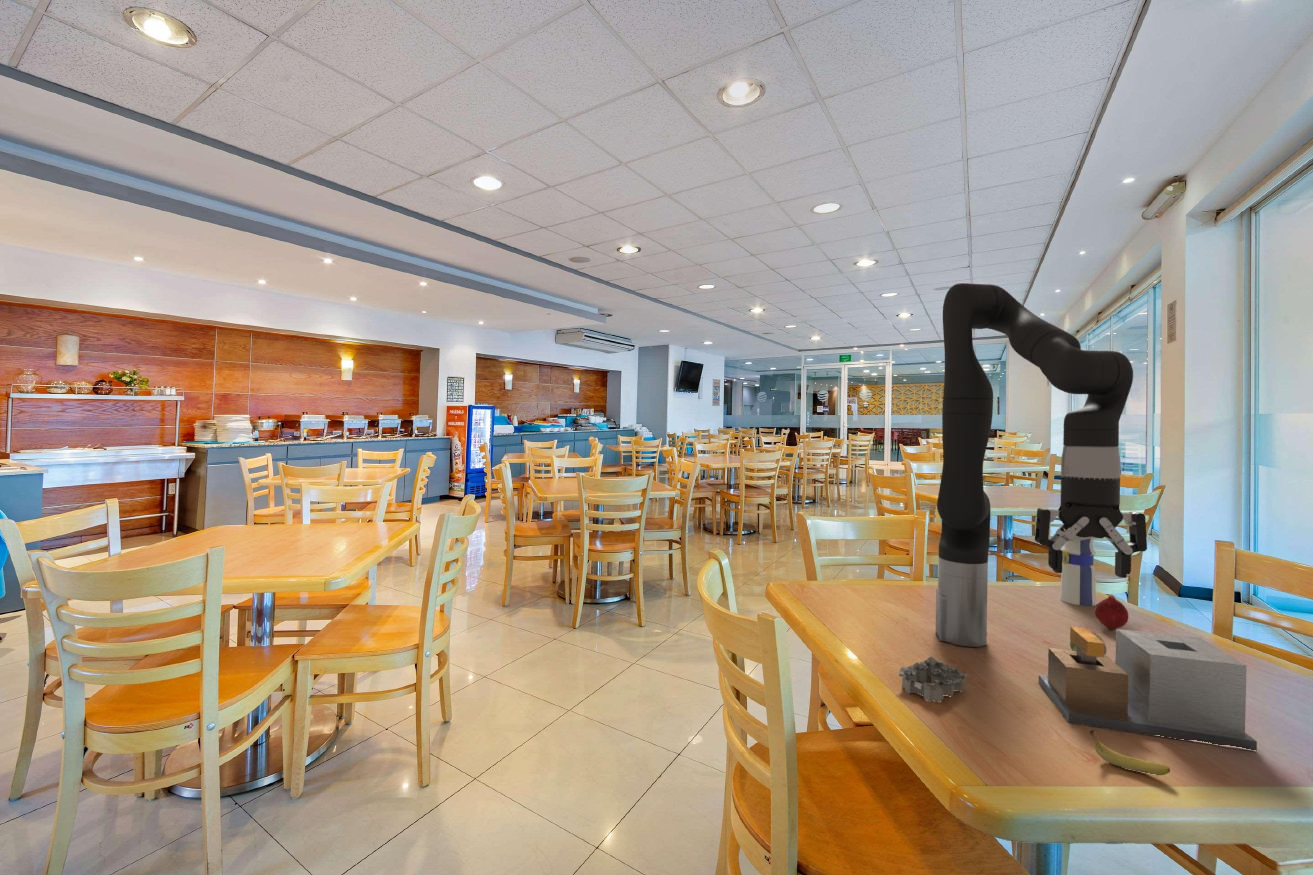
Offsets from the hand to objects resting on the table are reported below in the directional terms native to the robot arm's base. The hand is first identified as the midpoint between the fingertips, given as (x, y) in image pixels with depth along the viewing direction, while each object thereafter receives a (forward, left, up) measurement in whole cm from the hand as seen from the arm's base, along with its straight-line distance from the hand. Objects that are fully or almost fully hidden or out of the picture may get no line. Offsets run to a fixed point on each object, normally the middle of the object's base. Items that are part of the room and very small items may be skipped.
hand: (1088, 574), depth 88 cm
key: (0, 0, -18) cm, 18 cm away
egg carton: (-23, -2, -22) cm, 32 cm away
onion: (+19, +43, -22) cm, 52 cm away
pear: (+7, +21, -22) cm, 31 cm away
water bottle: (+20, +65, -22) cm, 71 cm away
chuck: (+6, 0, -22) cm, 22 cm away
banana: (-2, -18, -22) cm, 28 cm away
